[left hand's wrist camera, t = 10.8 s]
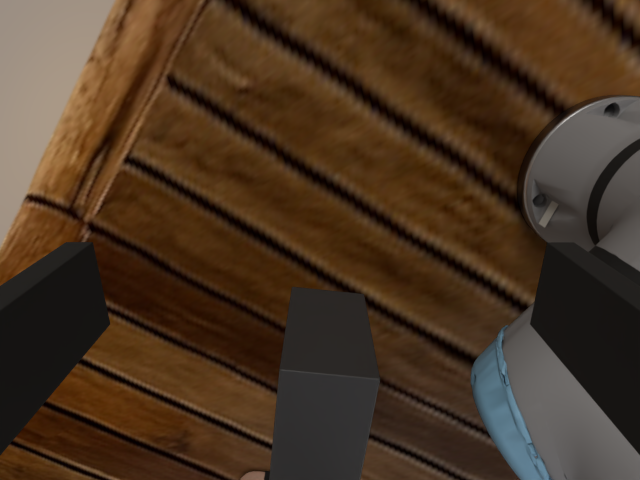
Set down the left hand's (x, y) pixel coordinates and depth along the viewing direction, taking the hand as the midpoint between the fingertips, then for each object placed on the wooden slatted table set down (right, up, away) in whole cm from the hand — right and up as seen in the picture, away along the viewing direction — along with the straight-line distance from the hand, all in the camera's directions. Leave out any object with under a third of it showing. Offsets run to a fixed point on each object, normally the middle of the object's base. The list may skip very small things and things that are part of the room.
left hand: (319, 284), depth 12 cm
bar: (-1, -13, +23) cm, 26 cm away
